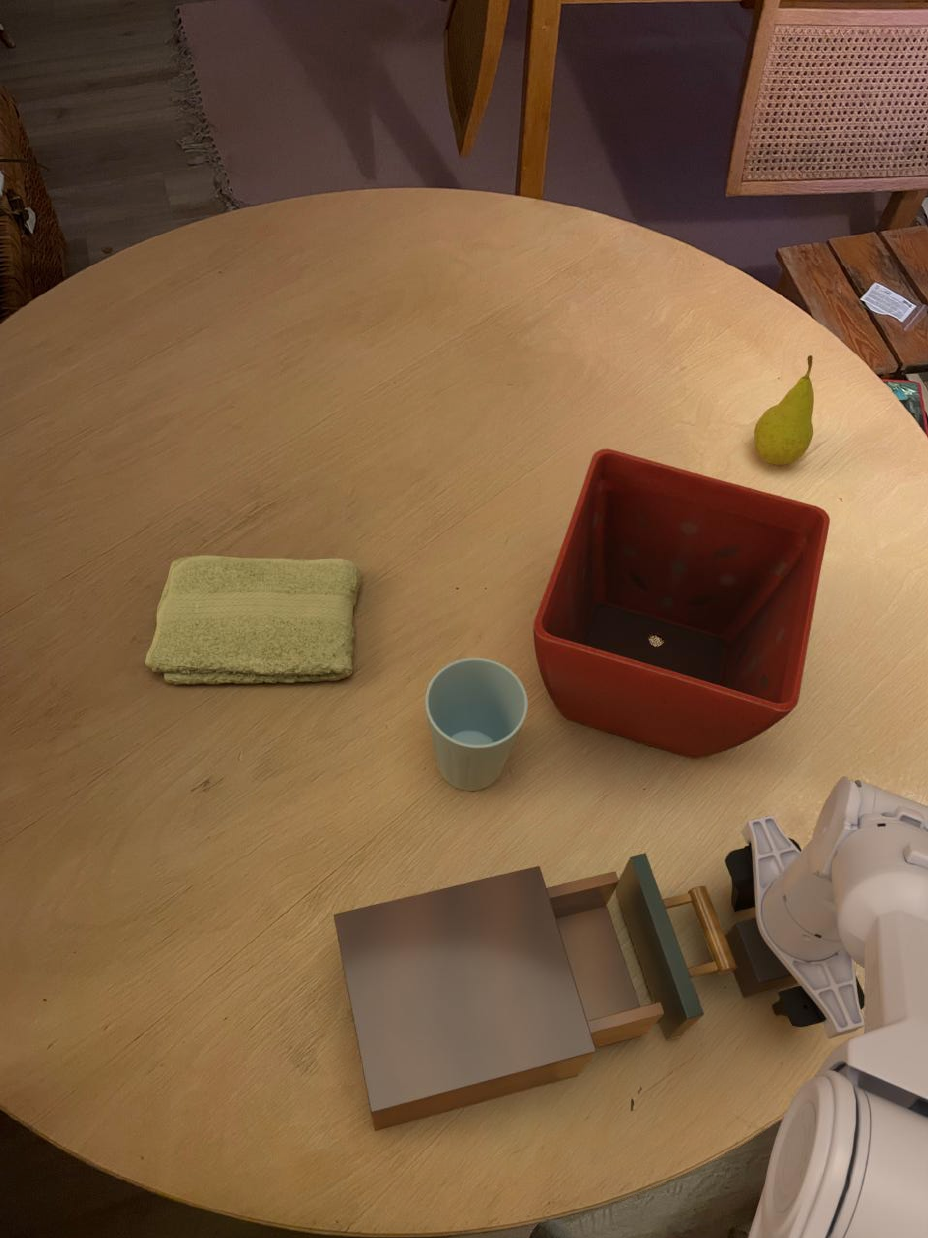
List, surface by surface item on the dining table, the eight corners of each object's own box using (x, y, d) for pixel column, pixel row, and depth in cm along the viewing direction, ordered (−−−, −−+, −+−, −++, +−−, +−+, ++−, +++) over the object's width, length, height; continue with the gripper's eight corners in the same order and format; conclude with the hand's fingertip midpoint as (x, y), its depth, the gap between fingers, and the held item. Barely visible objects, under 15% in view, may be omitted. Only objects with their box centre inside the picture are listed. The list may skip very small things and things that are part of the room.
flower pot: (733, 810, 85) (797, 714, 71) (510, 739, 87) (529, 632, 73) (770, 625, 95) (833, 508, 81) (569, 567, 97) (596, 444, 83)
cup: (434, 813, 83) (437, 756, 75) (414, 730, 87) (415, 666, 79) (525, 794, 85) (539, 736, 76) (501, 713, 89) (512, 649, 80)
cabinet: (527, 904, 80) (539, 865, 72) (578, 1076, 73) (596, 1051, 66) (340, 950, 77) (333, 914, 70) (374, 1131, 71) (371, 1113, 63)
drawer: (679, 872, 81) (700, 839, 75) (736, 1021, 75) (763, 998, 69) (459, 925, 78) (463, 896, 72) (500, 1085, 72) (507, 1067, 66)
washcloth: (171, 564, 96) (164, 543, 93) (363, 570, 96) (361, 549, 94) (146, 688, 88) (138, 669, 86) (353, 694, 89) (352, 675, 86)
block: (797, 984, 77) (816, 968, 74) (742, 998, 77) (759, 983, 73) (773, 926, 80) (790, 908, 76) (720, 940, 79) (735, 922, 75)
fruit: (765, 485, 104) (803, 398, 94) (734, 445, 107) (768, 356, 97) (812, 469, 106) (855, 382, 96) (781, 429, 108) (818, 341, 98)
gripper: (939, 996, 62) (857, 1042, 74) (834, 779, 70) (774, 851, 81) (832, 1026, 61) (766, 1068, 72) (737, 801, 69) (690, 872, 80)
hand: (764, 955), depth 77 cm, fingers open, 7 cm apart
